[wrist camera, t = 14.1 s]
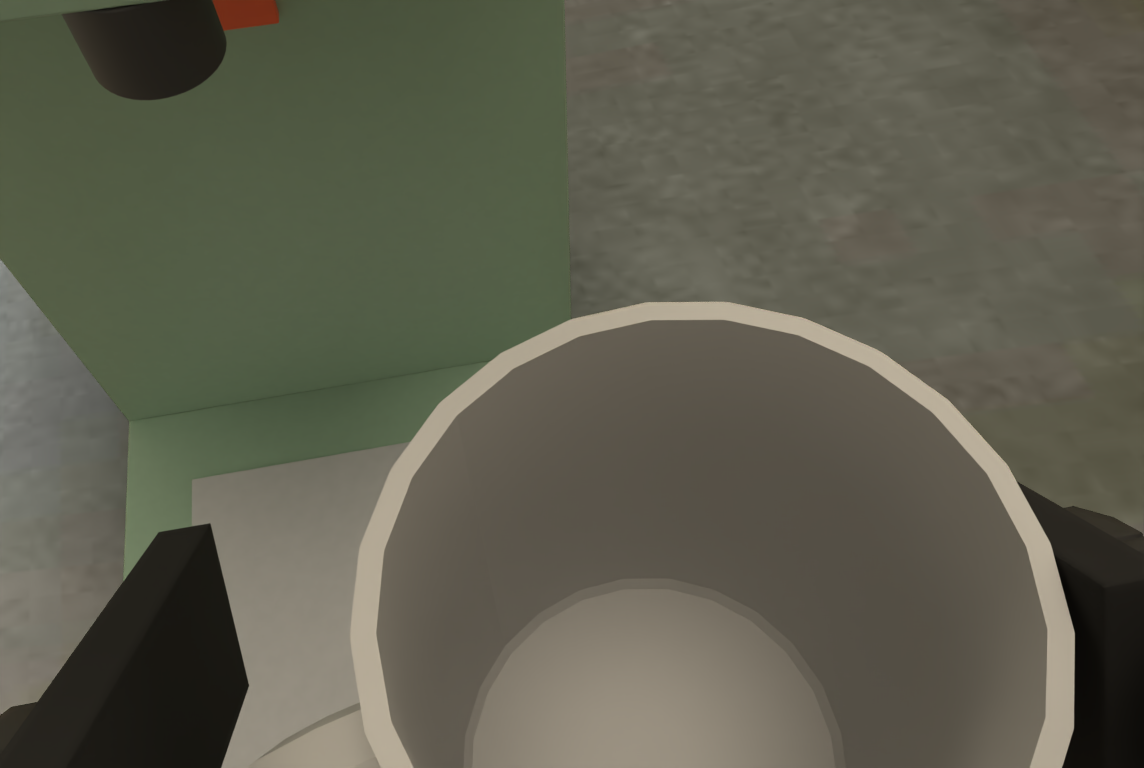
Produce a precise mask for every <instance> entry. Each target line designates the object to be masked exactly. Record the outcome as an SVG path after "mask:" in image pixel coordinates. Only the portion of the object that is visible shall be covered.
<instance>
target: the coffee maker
mask: <svg viewBox="0 0 1144 768" xmlns="http://www.w3.org/2000/svg"><path fill="white" fill-rule="evenodd" d="M0 259H1V260H2V261H3V263H4V264H5V265H6V266H7V268H8V269H9V270H10V271H11V273H12V274H13V275H14V277H15V278H16V279H17V280H18V282H19V283H20V284H21V285H22V287H23V288H24V289H25V290H26V292H27V293H28V294H29V296H30V297H31V298H32V299H33V301H34V302H35V303H36V304H37V306H38V307H39V308H40V309H41V311H42V312H43V313H44V314H45V316H46V317H47V318H48V320H49V321H50V322H51V323H52V325H53V326H54V327H55V328H56V330H57V331H58V332H59V333H60V335H61V336H62V337H63V339H64V340H65V341H66V342H67V344H68V345H69V346H70V347H71V349H72V350H73V351H74V352H75V354H76V355H77V356H78V358H79V359H80V360H81V361H82V363H83V364H84V365H85V366H86V368H87V369H88V370H89V371H90V373H91V374H92V375H93V376H94V378H95V379H96V380H97V382H98V383H99V384H100V385H101V387H102V388H103V389H104V390H105V392H106V393H107V394H108V395H109V397H110V398H111V399H112V401H113V402H114V403H115V404H116V406H117V407H118V408H119V409H120V411H121V412H122V413H123V414H124V416H125V417H126V418H127V419H128V421H129V442H128V468H127V494H126V520H125V546H124V571H123V581H124V580H125V579H126V577H127V576H128V574H129V573H130V572H131V570H132V569H133V567H134V566H135V565H136V563H137V562H138V560H139V559H140V558H141V556H142V555H143V553H144V552H145V551H146V549H147V548H148V546H149V545H150V543H151V542H152V541H153V539H154V538H155V536H156V535H157V534H158V532H162V531H168V530H174V529H179V528H185V527H191V526H197V525H203V524H208V523H211V528H212V532H213V536H214V540H215V544H216V549H217V553H218V557H219V561H220V565H221V570H222V574H223V578H224V582H225V586H226V591H227V595H228V599H229V603H230V607H231V612H232V616H233V620H234V624H235V628H236V633H237V637H238V641H239V645H240V649H241V654H242V658H243V662H244V666H245V670H246V675H247V679H248V683H249V687H248V690H247V693H246V696H245V699H244V702H243V705H242V708H241V711H240V714H239V717H238V720H237V723H236V726H235V729H234V732H233V734H232V737H231V740H230V743H229V746H228V749H227V752H226V755H225V758H224V761H223V764H222V767H221V768H247V767H248V766H250V765H251V764H252V763H253V762H255V761H256V760H257V759H259V758H260V757H261V756H263V755H264V754H265V753H267V752H268V751H269V750H271V749H272V748H273V747H275V746H276V745H278V744H279V743H280V742H282V741H283V740H284V739H286V738H288V737H290V736H292V735H293V734H295V733H297V732H299V731H301V730H303V729H304V728H306V727H308V726H310V725H312V724H314V723H316V722H317V721H319V720H321V719H323V718H325V717H327V716H329V715H331V714H333V713H336V712H338V711H340V710H343V709H345V708H347V707H350V706H352V705H354V704H357V703H359V702H360V701H359V694H358V688H357V682H356V675H355V669H354V663H353V656H352V650H351V644H350V628H351V619H352V609H353V600H354V591H355V582H356V573H357V564H358V555H359V547H360V545H361V542H362V540H363V537H364V535H365V532H366V530H367V527H368V525H369V522H370V520H371V517H372V515H373V512H374V510H375V507H376V505H377V502H378V500H379V497H380V495H381V492H382V490H383V487H384V485H385V482H386V480H387V477H388V475H389V472H390V470H391V468H392V466H393V465H394V464H395V462H396V461H397V460H398V458H399V457H400V456H401V454H402V453H403V452H404V450H405V449H406V447H407V446H408V445H409V443H410V442H411V441H412V439H413V438H414V437H415V435H416V434H417V433H418V431H419V430H420V428H421V427H422V426H423V424H424V423H425V422H426V420H427V419H428V418H429V416H430V415H431V413H432V412H433V411H434V409H435V408H436V407H437V405H438V404H439V403H440V402H441V401H442V400H444V399H445V398H446V397H447V396H449V395H450V394H451V393H452V392H454V391H455V390H456V389H457V388H458V387H460V386H461V385H462V384H463V383H465V382H466V381H467V380H468V379H469V378H471V377H472V376H473V375H474V374H476V373H477V372H478V371H479V370H481V369H482V368H483V367H484V366H485V365H487V364H488V363H489V362H490V361H492V360H493V359H494V358H495V357H497V356H498V355H499V354H500V353H502V352H504V351H506V350H508V349H510V348H513V347H515V346H517V345H519V344H521V343H523V342H525V341H527V340H529V339H531V338H533V337H535V336H537V335H539V334H542V333H544V332H546V331H548V330H550V329H552V328H554V327H556V326H558V325H560V324H562V323H564V322H566V321H568V320H570V319H571V290H570V243H569V196H568V148H567V101H566V54H565V7H564V0H0Z"/></svg>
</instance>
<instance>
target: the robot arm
mask: <svg viewBox="0 0 1144 768" xmlns="http://www.w3.org/2000/svg"><path fill="white" fill-rule="evenodd" d="M1016 482H1017V481H1016ZM1017 484H1018V485H1019V487H1020V489H1021V491H1022V493H1023V494H1024V496H1025V498H1026V500H1027V502H1028V503H1029V505H1030V507H1031V509H1032V511H1033V513H1034V514H1035V516H1036V518H1037V520H1038V522H1039V523H1040V525H1041V527H1042V529H1043V531H1044V533H1045V534H1046V536H1047V538H1048V540H1049V542H1050V543H1051V547H1052V550H1053V554H1054V558H1055V561H1056V565H1057V569H1058V573H1059V576H1060V580H1061V584H1062V587H1063V591H1064V595H1065V599H1066V602H1067V606H1068V610H1069V613H1070V617H1071V621H1072V625H1073V628H1074V632H1075V669H1074V730H1073V733H1072V737H1071V740H1070V743H1069V746H1068V750H1067V753H1066V756H1065V760H1064V763H1063V766H1062V768H1144V537H1143V534H1142V533H1141V532H1139V531H1138V530H1136V529H1134V528H1132V527H1130V526H1128V525H1127V524H1125V523H1123V522H1121V521H1119V520H1117V519H1116V518H1114V517H1111V516H1107V515H1103V514H1100V513H1096V512H1093V511H1089V510H1085V509H1082V508H1078V507H1074V506H1072V507H1067V508H1062V507H1061V506H1059V505H1057V504H1055V503H1054V502H1052V501H1050V500H1048V499H1047V498H1045V497H1043V496H1041V495H1040V494H1038V493H1036V492H1034V491H1033V490H1031V489H1029V488H1027V487H1026V486H1024V485H1022V484H1020V483H1019V482H1017ZM248 687H249V683H248V679H247V675H246V670H245V666H244V662H243V658H242V654H241V649H240V645H239V641H238V637H237V633H236V628H235V624H234V620H233V616H232V612H231V607H230V603H229V599H228V595H227V591H226V586H225V582H224V578H223V574H222V570H221V565H220V561H219V557H218V553H217V549H216V544H215V540H214V536H213V532H212V528H211V523H208V524H203V525H197V526H191V527H185V528H179V529H174V530H168V531H162V532H158V534H157V535H156V536H155V538H154V539H153V541H152V542H151V543H150V545H149V546H148V548H147V549H146V551H145V552H144V553H143V555H142V556H141V558H140V559H139V560H138V562H137V563H136V565H135V566H134V567H133V569H132V570H131V572H130V573H129V574H128V576H127V577H126V579H125V580H124V581H123V583H122V584H121V586H120V587H119V588H118V590H117V591H116V593H115V594H114V595H113V597H112V598H111V600H110V601H109V602H108V604H107V605H106V607H105V608H104V610H103V611H102V612H101V614H100V615H99V617H98V618H97V619H96V621H95V622H94V624H93V625H92V626H91V628H90V629H89V631H88V632H87V633H86V635H85V636H84V638H83V639H82V640H81V642H80V643H79V645H78V646H77V647H76V649H75V650H74V652H73V653H72V654H71V656H70V657H69V659H68V660H67V661H66V663H65V664H64V666H63V667H62V669H61V670H60V671H59V673H58V674H57V676H56V677H55V678H54V680H53V681H52V683H51V684H50V685H49V687H48V688H47V690H46V691H45V692H44V694H43V695H42V697H41V698H40V699H39V701H38V702H35V703H30V704H25V705H19V706H14V707H11V708H10V709H8V710H7V711H6V712H4V713H3V714H2V715H0V768H221V767H222V764H223V761H224V758H225V755H226V752H227V749H228V746H229V743H230V740H231V737H232V734H233V732H234V729H235V726H236V723H237V720H238V717H239V714H240V711H241V708H242V705H243V702H244V699H245V696H246V693H247V690H248Z"/></svg>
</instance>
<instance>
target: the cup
mask: <svg viewBox="0 0 1144 768" xmlns="http://www.w3.org/2000/svg"><path fill="white" fill-rule="evenodd" d="M350 644H351V650H352V656H353V663H354V669H355V675H356V682H357V688H358V694H359V701H360V702H359V703H357V704H354V705H352V706H350V707H347V708H345V709H343V710H340V711H338V712H336V713H333V714H331V715H329V716H327V717H325V718H323V719H321V720H319V721H317V722H316V723H314V724H312V725H310V726H308V727H306V728H304V729H303V730H301V731H299V732H297V733H295V734H293V735H292V736H290V737H288V738H286V739H284V740H283V741H282V742H280V743H279V744H278V745H276V746H275V747H273V748H272V749H271V750H269V751H268V752H267V753H265V754H264V755H263V756H261V757H260V758H259V759H257V760H256V761H255V762H253V763H252V764H251V765H250V766H248V767H247V768H1062V766H1063V763H1064V760H1065V756H1066V753H1067V750H1068V746H1069V743H1070V740H1071V737H1072V733H1073V730H1074V669H1075V632H1074V628H1073V625H1072V621H1071V617H1070V613H1069V610H1068V606H1067V602H1066V599H1065V595H1064V591H1063V587H1062V584H1061V580H1060V576H1059V573H1058V569H1057V565H1056V561H1055V558H1054V554H1053V550H1052V547H1051V543H1050V542H1049V540H1048V538H1047V536H1046V534H1045V533H1044V531H1043V529H1042V527H1041V525H1040V523H1039V522H1038V520H1037V518H1036V516H1035V514H1034V513H1033V511H1032V509H1031V507H1030V505H1029V503H1028V502H1027V500H1026V498H1025V496H1024V494H1023V493H1022V491H1021V489H1020V487H1019V485H1018V484H1017V482H1016V480H1015V478H1014V476H1013V474H1012V473H1011V471H1010V469H1009V467H1008V465H1007V464H1006V463H1005V462H1004V461H1003V460H1002V459H1001V458H1000V456H999V455H998V454H997V453H996V452H995V451H994V450H993V449H992V448H991V447H990V445H989V444H988V443H987V442H986V441H985V440H984V439H983V438H982V437H981V436H980V434H979V433H978V432H977V431H976V430H975V429H974V428H973V427H972V426H971V424H970V423H969V422H968V421H967V420H966V419H965V418H964V417H963V416H962V415H961V413H960V412H959V411H958V410H957V409H956V408H955V407H954V406H953V405H952V403H951V402H950V401H949V400H947V399H946V398H945V397H943V396H942V395H940V394H939V393H938V392H936V391H935V390H933V389H932V388H931V387H929V386H928V385H927V384H925V383H924V382H922V381H921V380H920V379H918V378H917V377H915V376H914V375H913V374H911V373H910V372H908V371H907V370H906V369H904V368H903V367H901V366H900V365H899V364H897V363H896V362H894V361H893V360H892V359H890V358H889V357H888V356H886V355H885V354H883V353H882V352H881V351H879V350H876V349H874V348H872V347H869V346H867V345H865V344H863V343H860V342H858V341H856V340H853V339H851V338H849V337H846V336H844V335H842V334H839V333H837V332H835V331H833V330H830V329H828V328H826V327H823V326H821V325H819V324H816V323H814V322H812V321H810V320H807V319H805V318H801V317H796V316H791V315H786V314H782V313H777V312H772V311H767V310H763V309H758V308H753V307H748V306H743V305H739V304H734V303H729V302H646V303H642V304H637V305H633V306H628V307H624V308H620V309H615V310H611V311H606V312H602V313H597V314H593V315H588V316H584V317H579V318H575V319H570V320H568V321H566V322H564V323H562V324H560V325H558V326H556V327H554V328H552V329H550V330H548V331H546V332H544V333H542V334H539V335H537V336H535V337H533V338H531V339H529V340H527V341H525V342H523V343H521V344H519V345H517V346H515V347H513V348H510V349H508V350H506V351H504V352H502V353H500V354H499V355H498V356H497V357H495V358H494V359H493V360H492V361H490V362H489V363H488V364H487V365H485V366H484V367H483V368H482V369H481V370H479V371H478V372H477V373H476V374H474V375H473V376H472V377H471V378H469V379H468V380H467V381H466V382H465V383H463V384H462V385H461V386H460V387H458V388H457V389H456V390H455V391H454V392H452V393H451V394H450V395H449V396H447V397H446V398H445V399H444V400H442V401H441V402H440V403H439V404H438V405H437V407H436V408H435V409H434V411H433V412H432V413H431V415H430V416H429V418H428V419H427V420H426V422H425V423H424V424H423V426H422V427H421V428H420V430H419V431H418V433H417V434H416V435H415V437H414V438H413V439H412V441H411V442H410V443H409V445H408V446H407V447H406V449H405V450H404V452H403V453H402V454H401V456H400V457H399V458H398V460H397V461H396V462H395V464H394V465H393V466H392V468H391V470H390V472H389V475H388V477H387V480H386V482H385V485H384V487H383V490H382V492H381V495H380V497H379V500H378V502H377V505H376V507H375V510H374V512H373V515H372V517H371V520H370V522H369V525H368V527H367V530H366V532H365V535H364V537H363V540H362V542H361V545H360V547H359V555H358V564H357V573H356V582H355V591H354V600H353V609H352V619H351V628H350Z"/></svg>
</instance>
